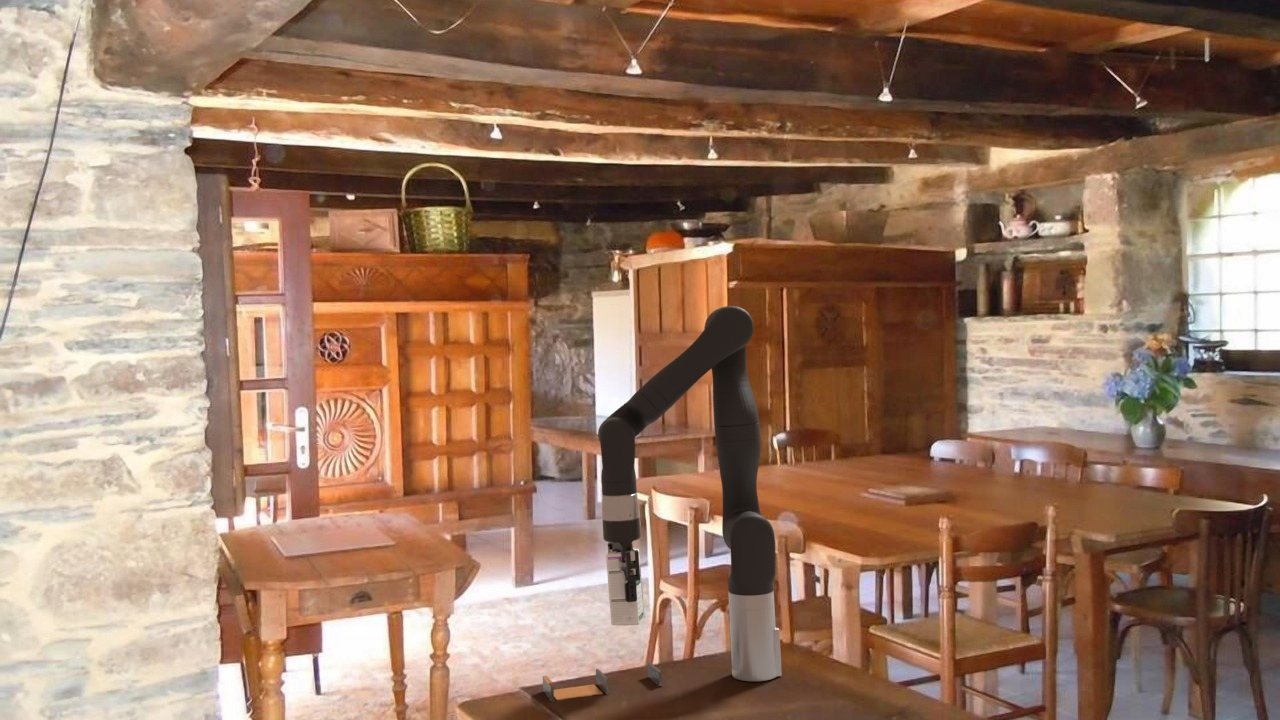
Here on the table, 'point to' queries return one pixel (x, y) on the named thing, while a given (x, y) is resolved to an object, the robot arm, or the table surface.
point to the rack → (591, 689)
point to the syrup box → (623, 594)
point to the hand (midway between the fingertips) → (625, 597)
